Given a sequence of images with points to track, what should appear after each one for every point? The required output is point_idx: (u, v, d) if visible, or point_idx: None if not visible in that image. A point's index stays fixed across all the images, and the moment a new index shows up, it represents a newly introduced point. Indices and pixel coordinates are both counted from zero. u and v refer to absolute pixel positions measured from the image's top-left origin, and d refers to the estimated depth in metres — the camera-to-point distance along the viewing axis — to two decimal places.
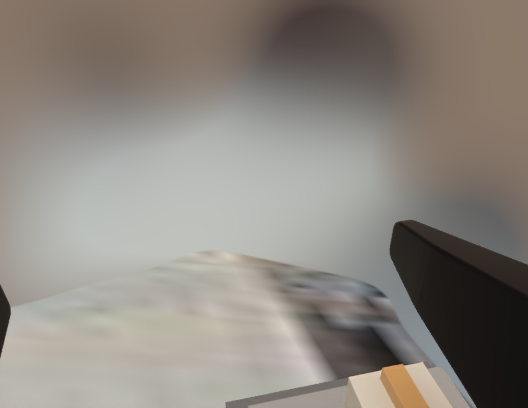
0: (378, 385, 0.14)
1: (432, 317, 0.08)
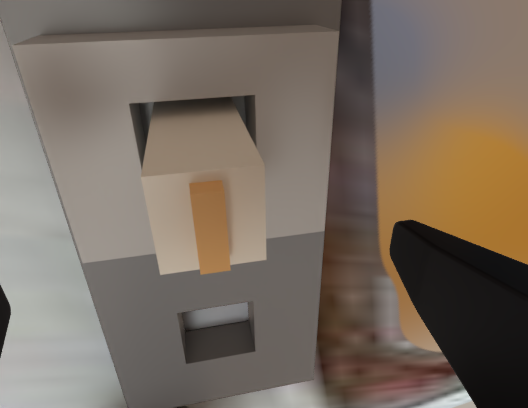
0: (182, 194, 0.09)
1: (432, 317, 0.08)
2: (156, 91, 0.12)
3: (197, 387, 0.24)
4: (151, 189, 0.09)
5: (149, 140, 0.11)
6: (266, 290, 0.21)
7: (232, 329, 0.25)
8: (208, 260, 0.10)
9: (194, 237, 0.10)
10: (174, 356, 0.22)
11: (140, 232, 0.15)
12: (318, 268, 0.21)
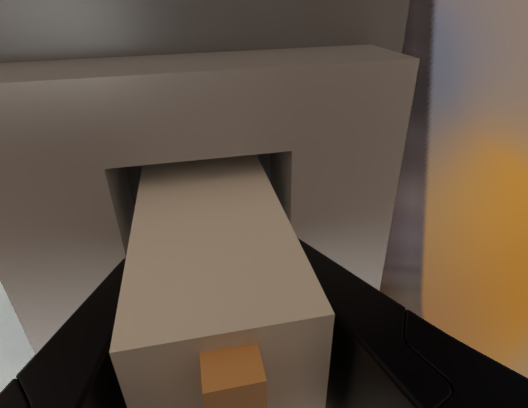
0: (187, 370, 0.05)
1: None
2: (146, 150, 0.08)
3: None
4: (130, 369, 0.05)
5: (132, 240, 0.07)
6: None
7: None
8: None
9: None
10: None
11: None
12: None
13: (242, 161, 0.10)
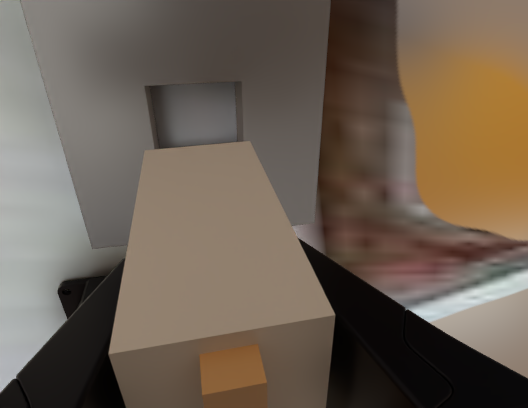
0: (187, 371, 0.05)
1: None
2: None
3: None
4: (129, 370, 0.05)
5: (132, 240, 0.07)
6: (258, 65, 0.17)
7: None
8: None
9: None
10: None
11: None
12: (324, 38, 0.17)
13: (242, 161, 0.10)
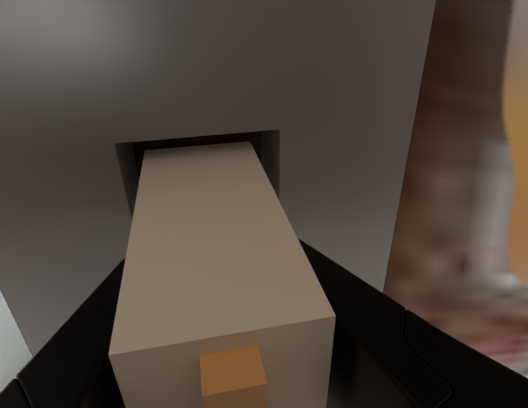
0: (186, 372, 0.05)
1: None
2: None
3: None
4: (129, 371, 0.05)
5: (132, 241, 0.07)
6: (308, 103, 0.10)
7: None
8: None
9: None
10: (118, 255, 0.11)
11: None
12: (419, 55, 0.10)
13: (242, 161, 0.10)
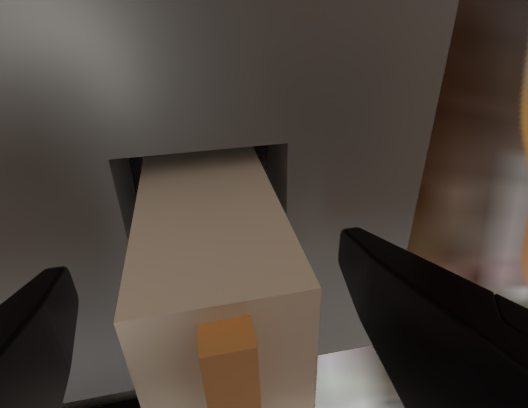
0: (185, 340, 0.06)
1: (372, 328, 0.08)
2: None
3: None
4: (132, 339, 0.05)
5: (134, 225, 0.07)
6: (318, 115, 0.09)
7: None
8: None
9: (205, 392, 0.06)
10: (113, 277, 0.10)
11: None
12: (439, 64, 0.09)
13: (239, 153, 0.10)
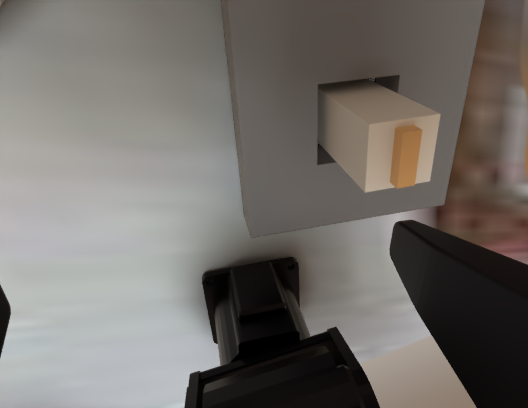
0: (390, 135, 0.15)
1: (432, 317, 0.08)
2: None
3: (324, 202, 0.21)
4: (373, 132, 0.15)
5: (346, 106, 0.17)
6: (415, 59, 0.18)
7: None
8: (403, 178, 0.15)
9: (390, 165, 0.16)
10: (306, 152, 0.20)
11: None
12: (475, 30, 0.18)
13: (368, 84, 0.20)
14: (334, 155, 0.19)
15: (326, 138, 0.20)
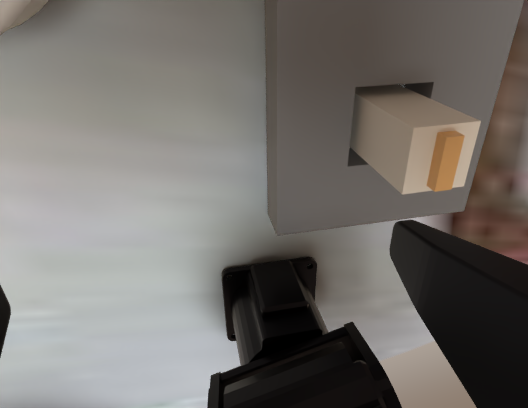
0: (432, 139, 0.15)
1: (432, 317, 0.08)
2: None
3: (350, 203, 0.22)
4: (416, 136, 0.15)
5: (385, 110, 0.17)
6: (450, 68, 0.19)
7: None
8: (442, 181, 0.16)
9: (428, 169, 0.16)
10: (338, 153, 0.20)
11: None
12: (508, 43, 0.19)
13: (401, 90, 0.20)
14: (366, 157, 0.20)
15: (357, 140, 0.20)
